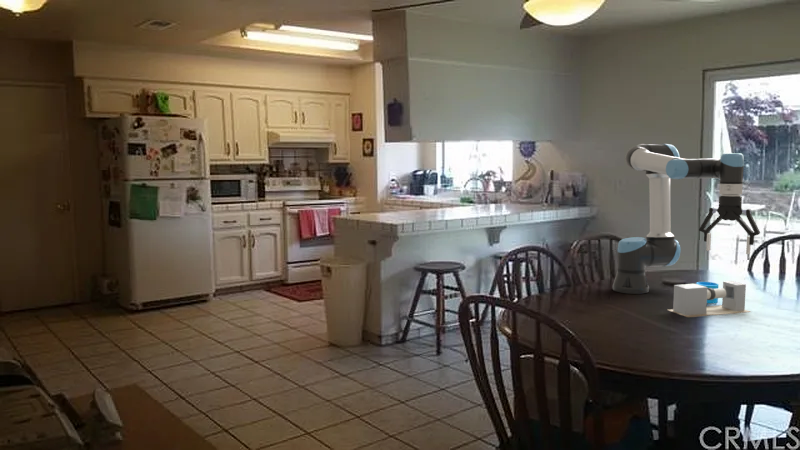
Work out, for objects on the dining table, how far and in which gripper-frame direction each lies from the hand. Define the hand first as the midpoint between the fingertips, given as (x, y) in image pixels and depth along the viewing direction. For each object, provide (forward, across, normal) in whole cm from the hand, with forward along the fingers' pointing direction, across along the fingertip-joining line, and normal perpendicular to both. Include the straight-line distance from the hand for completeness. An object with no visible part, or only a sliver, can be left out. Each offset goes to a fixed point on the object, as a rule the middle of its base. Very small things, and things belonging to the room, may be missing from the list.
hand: (727, 252), depth 238 cm
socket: (+23, +1, +6) cm, 24 cm away
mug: (+24, -10, +16) cm, 31 cm away
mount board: (+24, -5, -3) cm, 24 cm away
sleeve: (+23, -10, -9) cm, 26 cm away
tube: (+18, -7, -5) cm, 20 cm away
